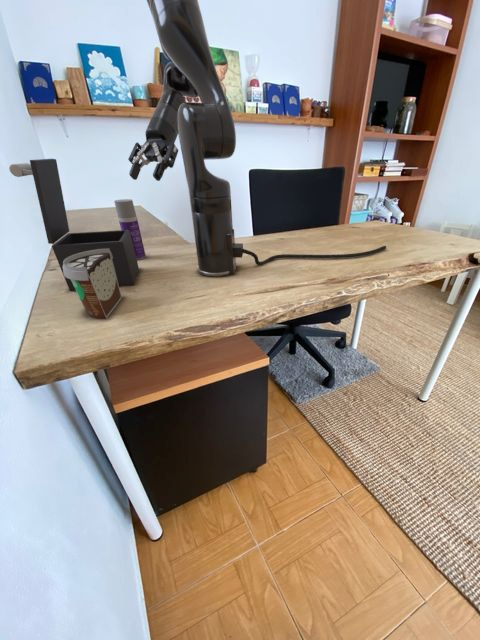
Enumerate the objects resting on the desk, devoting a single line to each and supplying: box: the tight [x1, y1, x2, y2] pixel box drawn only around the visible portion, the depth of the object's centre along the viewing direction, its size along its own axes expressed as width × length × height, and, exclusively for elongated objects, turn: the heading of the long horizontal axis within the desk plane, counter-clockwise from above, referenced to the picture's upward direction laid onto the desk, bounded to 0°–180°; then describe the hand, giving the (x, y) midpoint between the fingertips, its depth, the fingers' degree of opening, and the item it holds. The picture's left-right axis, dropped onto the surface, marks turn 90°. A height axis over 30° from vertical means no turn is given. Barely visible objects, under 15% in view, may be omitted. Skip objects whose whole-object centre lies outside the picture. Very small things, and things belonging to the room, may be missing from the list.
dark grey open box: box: [51, 229, 140, 292], centre depth 68 cm, size 14×12×10 cm
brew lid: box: [8, 158, 70, 245], centre depth 60 cm, size 14×12×5 cm
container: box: [113, 198, 147, 261], centre depth 81 cm, size 5×5×15 cm
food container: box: [62, 249, 123, 320], centre depth 55 cm, size 12×6×10 cm, turn 5°
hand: (144, 178), depth 81 cm, fingers open, 8 cm apart
